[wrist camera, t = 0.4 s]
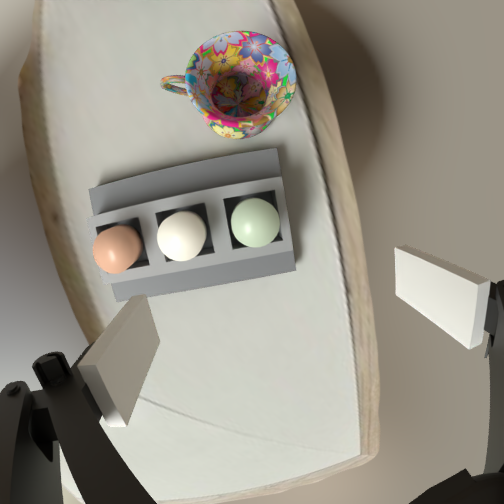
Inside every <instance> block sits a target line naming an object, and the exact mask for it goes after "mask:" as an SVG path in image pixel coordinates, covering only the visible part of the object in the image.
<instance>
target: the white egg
mask: <svg viewBox="0 0 504 504" xmlns="http://www.w3.org/2000/svg"><path fill="white" fill-rule="evenodd" d="M206 236H207V228H206V224H205V222H204V220H203V219H202V218H201V217H200V216H199V215H198V214H197V213H195V212H192V211H187V210H184V211H179V212H177V213H175V214H173V215H171V216H169V217H168V218H166V219H165V220H164V221H163V222H162V223H161V225H160V227H159V229H158V233H157V241H158V245H159V247H160V249H161V251H162V252H163V253H164V254H165V255H166V256H167V257H168V258H170V259H172V260H175V261H187V260H190V259H192V258H194V257H195V256H196V255H197V254H198V253H199V252H200V251H201V249H202V247H203V244H204V242H205V240H206Z"/></svg>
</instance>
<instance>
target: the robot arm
mask: <svg viewBox="0 0 504 504" xmlns="http://www.w3.org/2000/svg"><path fill="white" fill-rule="evenodd" d="M395 270H396V295H397V296H398V297H400V298H401V299H402V300H404V301H405V302H407V303H408V304H409V305H411V306H412V307H413V308H415V309H416V310H417V311H419V312H420V313H422V314H423V315H424V316H426V317H427V318H428V319H430V320H431V321H432V322H434V323H435V324H436V325H438V326H439V327H440V328H442V329H443V330H444V331H445V332H447V333H448V334H450V335H451V336H452V337H453V338H455V339H456V340H457V341H459V342H460V343H461V344H462V345H464V346H465V347H466V348H468V349H471V348H473V347H475V346H477V345H479V344H481V343H482V338H483V333H484V330H485V331H487V332H488V333H490V334H489V339H488V344H487V349H486V353H485V358H487V355H488V354H489V364H490V422H489V436H488V448H487V456H486V464H485V469H484V473H483V474H481V475H477V476H472V477H471V475H470V474H469V473H468V471H467V470H466V469H464V470H462V471H460V472H459V473H457V474H455V475H453V476H452V477H450V478H448V479H446V480H444V481H442V482H441V483H439V484H437V485H435V486H433V487H431V488H429V489H428V490H426V491H425V492H424V493H422V494H421V495H420V496H418V498H416V499H414V500H413V501H412V502H410V503H409V504H504V280H502V281H499V282H498V283H497V284H495V283H493V282H491V280H489V279H487V278H485V277H482V276H480V275H478V274H476V273H473V272H471V271H469V270H466V269H464V268H462V267H459V266H457V265H455V264H452V263H450V262H448V261H445V260H442V259H440V258H438V257H435V256H433V255H430V254H428V253H426V252H423V251H421V250H418V249H415V248H413V247H410V246H408V245H403V246H398V247H395ZM159 343H160V339H159V336H158V333H157V330H156V327H155V323H154V320H153V317H152V314H151V310H150V307H149V304H148V300H147V297H146V294H142V295H136V296H132V297H131V298H130V299H129V301H128V302H127V303H126V304H125V305H124V307H123V308H122V309H121V310H120V312H119V313H118V314H117V315H116V317H115V318H114V319H113V320H112V321H111V323H110V324H109V325H108V326H107V328H106V329H105V330H104V332H103V333H102V334H101V335H100V337H99V338H98V339H97V340H96V341H95V342H93V343H92V344H91V345H89V346H88V347H87V348H86V349H85V350H84V352H83V353H82V355H80V357H79V358H78V360H76V362H75V363H74V364H73V366H72V367H71V368H70V367H69V364H68V362H67V360H66V358H65V356H64V354H63V353H62V352H51V353H48V354H45V355H43V356H41V357H39V358H38V359H37V360H36V361H35V362H34V363H33V366H32V368H33V370H34V372H35V374H36V376H37V378H38V380H39V382H40V384H41V386H42V387H43V389H42V390H38V391H32V392H31V391H30V389H29V387H28V386H27V384H26V383H25V382H23V381H16V382H13V383H12V382H11V383H9V384H7V385H6V386H5V388H4V389H3V390H2V391H1V393H0V504H63V495H62V485H61V472H60V451H59V443H60V446H61V449H62V452H63V454H64V457H65V459H66V462H67V464H68V467H69V469H70V471H71V474H72V476H73V478H74V481H75V483H76V485H77V487H78V489H79V491H80V493H81V495H82V498H83V500H84V502H85V504H157V503H156V502H155V501H154V500H153V498H152V497H151V496H150V495H149V494H148V492H147V491H146V490H145V489H144V487H143V486H142V485H141V484H140V482H139V481H138V480H137V478H136V477H135V476H134V474H133V473H132V472H131V470H130V469H129V468H128V466H127V465H126V463H125V462H124V460H123V459H122V458H121V456H120V455H119V453H118V452H117V450H116V449H115V447H114V446H113V444H112V443H111V441H110V440H109V438H108V436H107V435H106V433H105V432H104V430H103V428H102V427H101V425H100V423H99V421H100V419H101V417H102V415H103V417H104V419H105V421H106V422H107V424H108V426H109V427H127V425H128V422H129V420H130V417H131V414H132V412H133V409H134V406H135V404H136V401H137V399H138V396H139V393H140V391H141V388H142V386H143V383H144V381H145V378H146V376H147V373H148V371H149V368H150V366H151V363H152V361H153V358H154V356H155V353H156V351H157V348H158V346H159Z"/></svg>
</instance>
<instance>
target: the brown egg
mask: <svg viewBox="0 0 504 504" xmlns="http://www.w3.org/2000/svg"><path fill="white" fill-rule="evenodd" d="M142 250H143V241H142V238H141V235H140V234H139V232H138V231H137V230H136V229H135V228H134V227H132V226H130V225H127V224H120V225H117V226H114V227H112V228H110V229H107V230H105V231H103V232H101V233H100V234H99V235H98V236H97V237H96V239H95V241H94V244H93V255H94V258H95V261H96V263H97V264H98V265H99V267H100V268H101V269H103V270H104V271H106V272H108V273H112V274H118V273H121V272H124V271H125V270H126V269H127V268H129V267H130V266H131V265H132V264H133V263H134V262H135V261H137V260H138V259H139V257H140V256H141V254H142Z"/></svg>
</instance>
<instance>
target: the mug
mask: <svg viewBox="0 0 504 504" xmlns="http://www.w3.org/2000/svg"><path fill="white" fill-rule="evenodd" d="M169 83H185V84H186V89H185V88H181V87H177V86H174V85H171V84H169ZM160 85H161V87H162V88H163V89H165V90H167V91H170V92H173V93H177V94H181V95H186V96H189V98H190V100H191V102H192V103H193V105H194V106H195V107H196V109H197V110H198V111H199V112H200V113H201V114H202V116H203V119H204V120H205V122H206V124H207V125H208V126H209V127H210V128H211V129H212V130H213V131H214V132H216V133H217V134H219V135H221V136H224V137H227V138H231V139H245V138H249V137H252V136H255V135H257V134H258V133H260V132H261V131H263V130H264V129H265V128H266V127H267V126H268V125H269V124H270V122H271V120H272V119H274V118H275V117H276V116H278V115H279V114H280V113H281V112H282V111H283V110H284V109H285V108H286V107H287V106H288V104H289V103H290V101H291V99H292V97H293V95H294V92H295V88H296V71H295V67H294V64H293V62H292V60H291V58H290V56H289V55H288V53H287V52H286V51H285V50H284V48H283V47H282V46H280V45H279V44H278V43H277V42H275V41H274V40H272V39H271V38H269V37H267V36H264V35H262V34H259V33H255V32H249V31H232V32H227V33H223V34H220V35H217V36H215V37H213V38H211V39H209V40H208V41H206V42H205V43H204V44H202V45H201V46H200V47H199V48H198V49H197V50H196V51H195V53H194V54H193V56H192V57H191V59H190V61H189V63H188V66H187V69H186V74H185V76H181V75H173V76H167V77H164V78H162V80H161V83H160Z"/></svg>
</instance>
